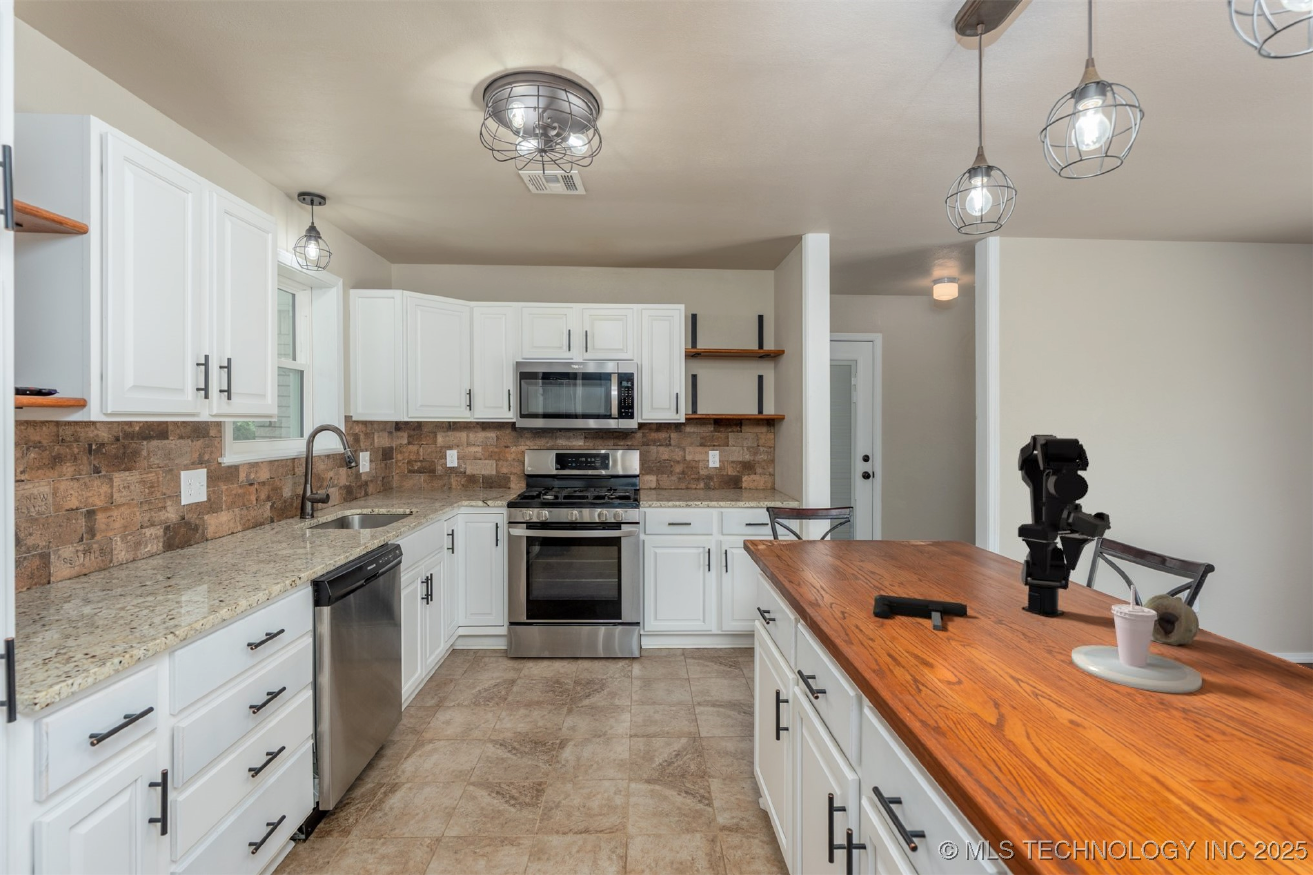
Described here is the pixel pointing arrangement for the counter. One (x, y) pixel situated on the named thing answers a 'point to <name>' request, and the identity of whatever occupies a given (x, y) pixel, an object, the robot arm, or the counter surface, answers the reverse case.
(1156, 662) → the plate
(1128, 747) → the counter surface
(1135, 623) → the smoothie
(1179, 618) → the olive hollow round lump
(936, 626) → the door handle
